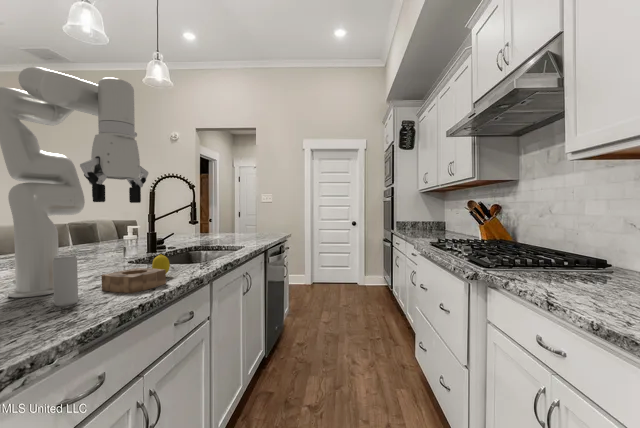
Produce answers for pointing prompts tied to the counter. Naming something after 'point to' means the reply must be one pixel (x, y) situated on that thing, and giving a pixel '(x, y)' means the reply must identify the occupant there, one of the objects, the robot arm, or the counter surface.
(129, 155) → the robot arm
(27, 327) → the counter surface
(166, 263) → the lemon
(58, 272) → the beverage can
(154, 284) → the socket block
